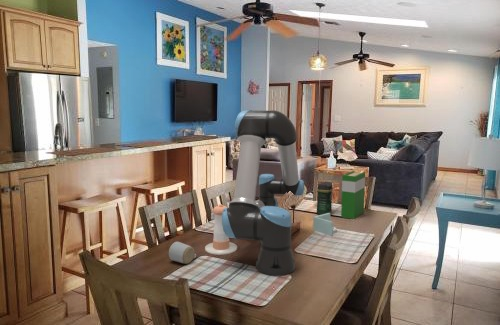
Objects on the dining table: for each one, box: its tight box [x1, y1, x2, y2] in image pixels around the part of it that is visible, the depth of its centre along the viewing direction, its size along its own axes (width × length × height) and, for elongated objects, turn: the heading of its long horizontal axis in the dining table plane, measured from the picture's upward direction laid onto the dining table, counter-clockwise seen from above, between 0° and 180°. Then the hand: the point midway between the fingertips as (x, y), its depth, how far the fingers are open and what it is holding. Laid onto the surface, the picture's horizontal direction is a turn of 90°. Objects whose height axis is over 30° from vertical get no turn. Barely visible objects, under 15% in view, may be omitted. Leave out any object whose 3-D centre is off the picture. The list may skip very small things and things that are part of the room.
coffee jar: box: [316, 181, 333, 216], centre depth 225 cm, size 10×8×19 cm
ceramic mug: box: [168, 241, 197, 265], centre depth 157 cm, size 11×8×8 cm
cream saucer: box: [204, 242, 238, 256], centre depth 170 cm, size 14×14×1 cm
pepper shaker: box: [212, 204, 230, 250], centre depth 169 cm, size 7×7×19 cm
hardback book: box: [340, 170, 366, 220], centre depth 223 cm, size 18×7×24 cm, turn 147°
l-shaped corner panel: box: [312, 213, 338, 237], centre depth 195 cm, size 12×12×8 cm
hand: (222, 219), depth 170 cm, fingers open, 13 cm apart
